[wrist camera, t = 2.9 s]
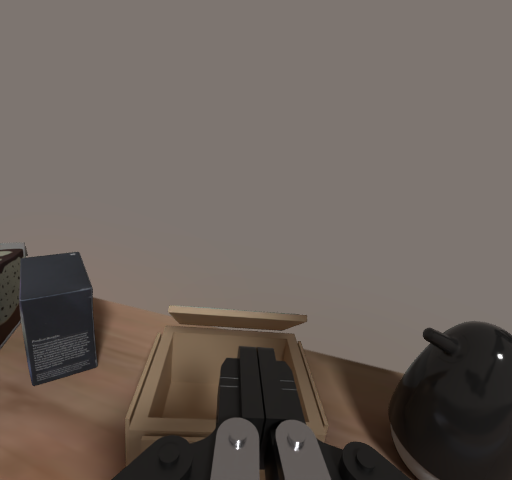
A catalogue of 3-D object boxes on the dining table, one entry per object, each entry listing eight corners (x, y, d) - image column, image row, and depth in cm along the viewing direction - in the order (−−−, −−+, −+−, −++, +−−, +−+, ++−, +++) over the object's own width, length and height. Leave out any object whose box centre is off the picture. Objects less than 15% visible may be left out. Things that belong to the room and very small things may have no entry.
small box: (27, 331, 38) (17, 256, 35) (85, 319, 42) (81, 250, 39) (28, 389, 30) (15, 298, 27) (99, 367, 34) (95, 286, 31)
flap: (281, 324, 33) (306, 313, 24) (281, 330, 33) (307, 321, 24) (180, 318, 32) (169, 304, 23) (180, 324, 32) (168, 312, 23)
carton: (288, 383, 36) (299, 334, 33) (317, 506, 24) (335, 442, 21) (158, 377, 34) (160, 325, 32) (118, 507, 22) (117, 437, 20)
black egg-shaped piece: (362, 411, 33) (400, 289, 28) (453, 421, 33) (506, 302, 29) (405, 523, 23) (474, 366, 19) (533, 535, 24) (632, 384, 19)
